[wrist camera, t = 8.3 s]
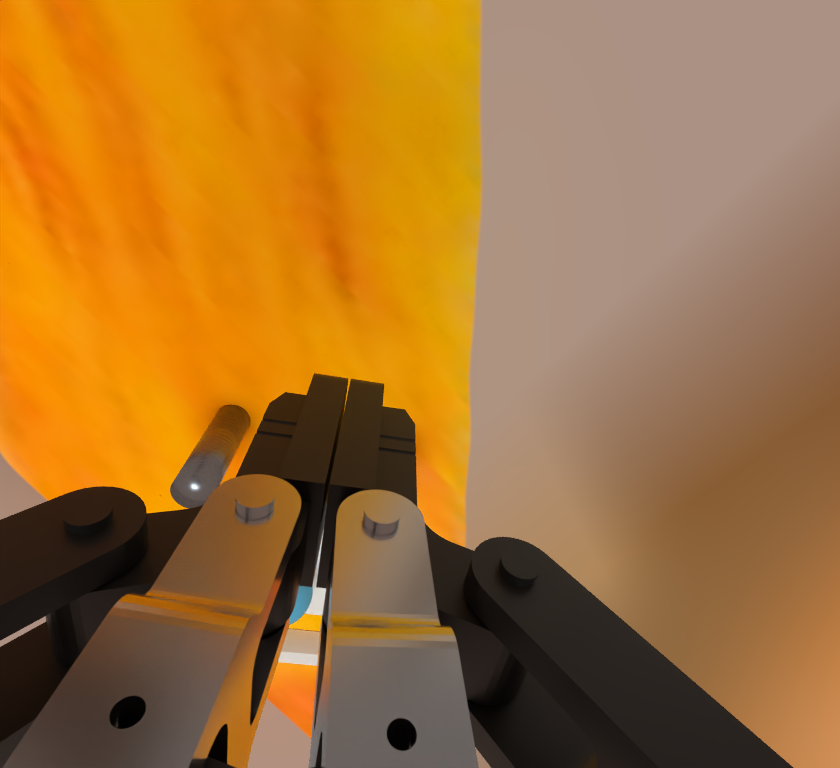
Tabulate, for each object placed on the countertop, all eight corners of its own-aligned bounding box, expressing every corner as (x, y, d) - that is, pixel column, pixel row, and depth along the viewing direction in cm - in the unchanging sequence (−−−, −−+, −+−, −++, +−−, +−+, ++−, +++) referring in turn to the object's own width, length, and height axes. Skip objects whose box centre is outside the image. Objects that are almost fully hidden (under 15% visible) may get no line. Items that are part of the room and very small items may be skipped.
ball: (253, 584, 49) (257, 543, 47) (312, 589, 50) (319, 549, 47) (240, 638, 44) (243, 595, 42) (305, 642, 45) (312, 601, 43)
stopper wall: (278, 627, 52) (272, 650, 50) (368, 636, 53) (366, 659, 51) (277, 638, 53) (272, 661, 51) (366, 646, 54) (364, 669, 51)
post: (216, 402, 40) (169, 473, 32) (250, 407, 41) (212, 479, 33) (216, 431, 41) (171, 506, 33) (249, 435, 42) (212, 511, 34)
